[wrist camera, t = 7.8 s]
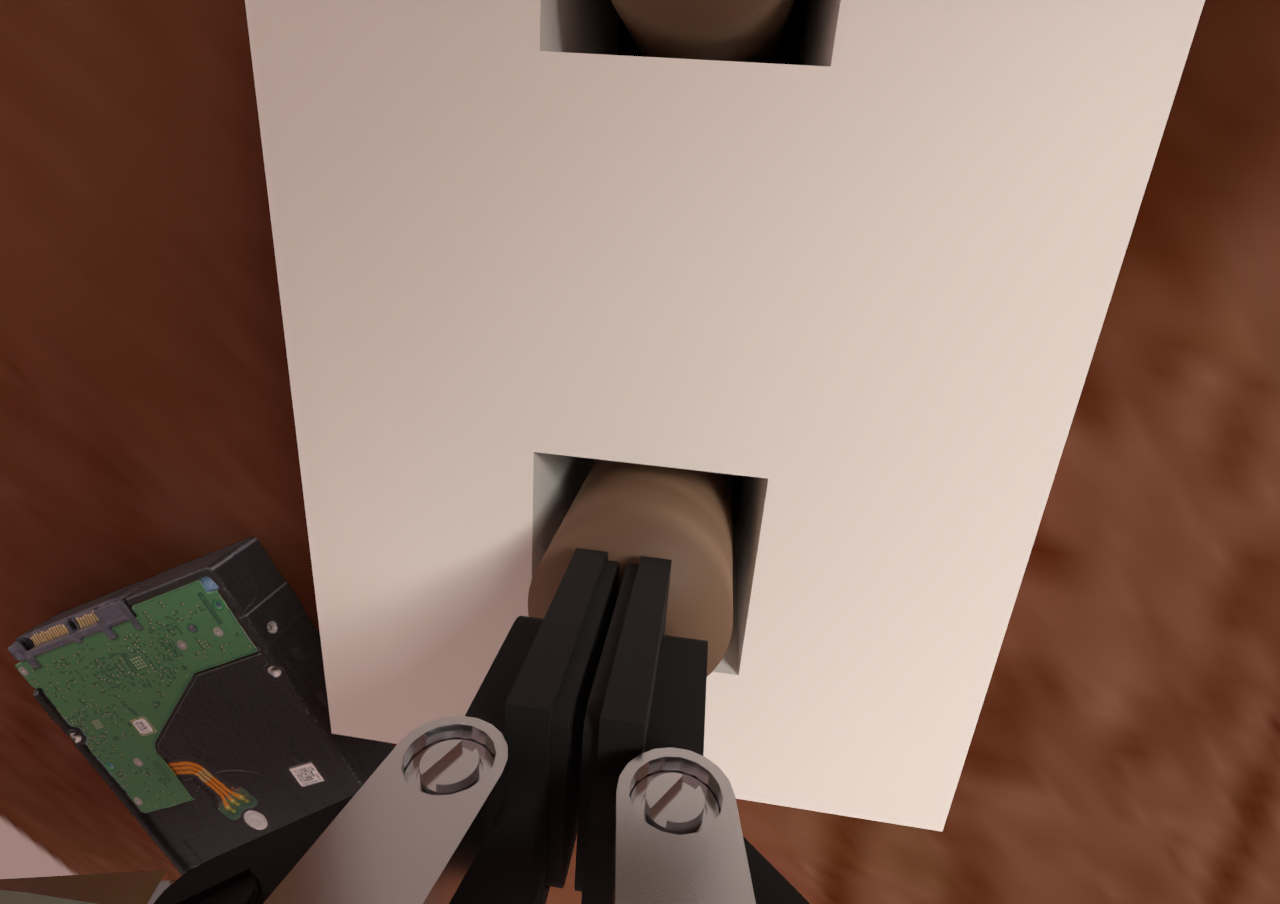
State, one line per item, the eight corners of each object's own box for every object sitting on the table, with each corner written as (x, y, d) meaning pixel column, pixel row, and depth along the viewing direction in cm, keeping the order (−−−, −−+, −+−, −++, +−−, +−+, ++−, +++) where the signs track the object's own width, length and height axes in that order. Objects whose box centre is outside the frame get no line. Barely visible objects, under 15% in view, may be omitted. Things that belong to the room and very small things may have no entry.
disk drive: (467, 826, 27) (261, 523, 23) (440, 893, 24) (202, 564, 20) (274, 874, 30) (58, 610, 25) (231, 939, 27) (-18, 656, 23)
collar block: (1092, -288, 13) (1453, -789, 7) (875, 637, 21) (942, 831, 14) (419, -289, 14) (160, -708, 8) (449, 579, 22) (331, 733, 16)
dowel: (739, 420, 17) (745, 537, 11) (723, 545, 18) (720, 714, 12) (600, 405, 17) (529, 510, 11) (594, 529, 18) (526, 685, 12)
